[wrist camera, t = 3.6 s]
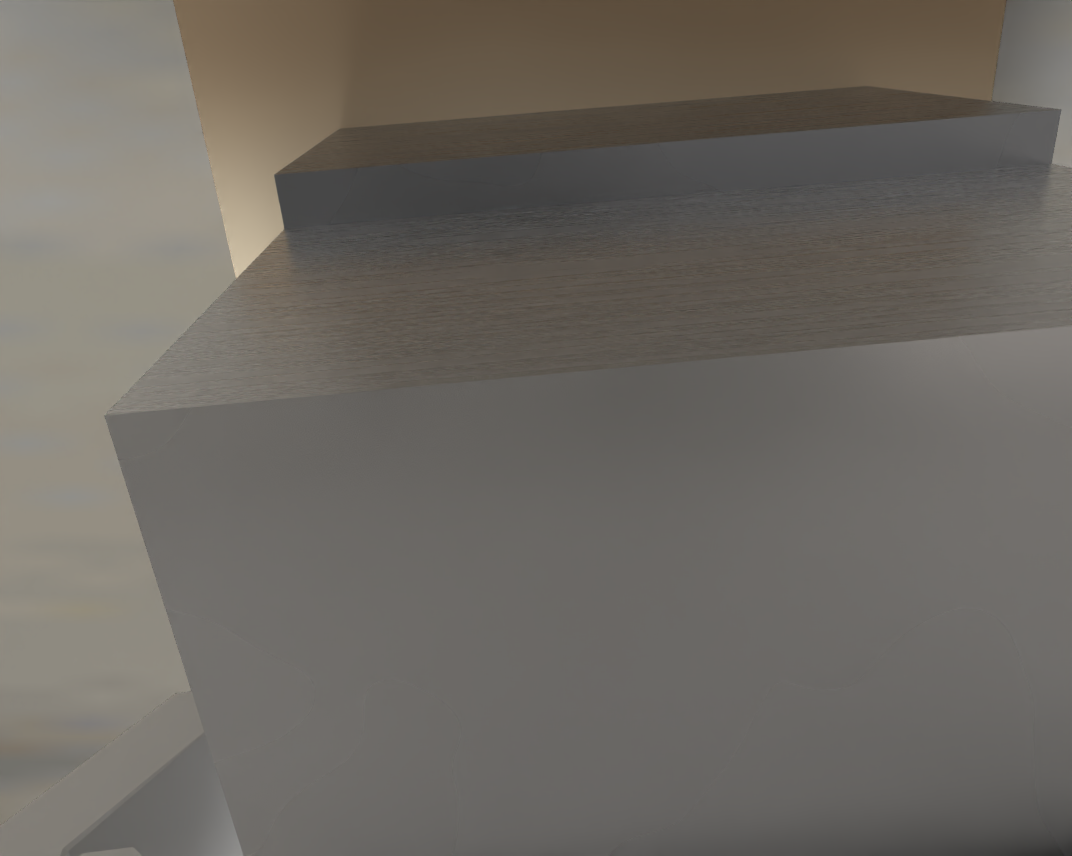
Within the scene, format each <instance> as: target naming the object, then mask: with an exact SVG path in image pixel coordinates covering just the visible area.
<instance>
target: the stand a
mask: <svg viewBox="0 0 1072 856" xmlns="http://www.w3.org/2000/svg"><path fill="white" fill-rule="evenodd" d="M173 2H174V6H175V10H176V15H177V19H178V24H179V28H180V32H181V37H182V41H183V46H184V50H185V55H186V59H187V63H188V68H189V72H190V77H191V81H192V86H193V90H194V94H195V99H196V103H197V108H198V112H199V116H200V121H201V125H202V130H203V134H204V139H205V143H206V147H207V152H208V156H209V161H210V165H211V170H212V174H213V178H214V183H215V187H216V192H217V196H218V201H219V205H220V209H221V214H222V218H223V223H224V227H225V231H226V236H227V240H228V245H229V249H230V254H231V258H232V262H233V267H234V271H235V276H236V279H237V277H238V276H239V275H240V274H241V273H242V272H243V271H244V270H245V269H246V268H247V267H248V266H249V265H250V264H251V263H252V262H253V261H254V260H255V259H256V258H257V257H258V256H259V255H260V254H261V253H262V252H263V251H264V250H265V248H266V247H267V246H268V245H269V244H270V243H271V242H272V241H273V240H274V239H275V238H276V237H277V236H278V235H279V234H280V233H281V232H282V231H283V230H284V224H283V219H282V214H281V209H280V204H279V199H278V194H277V188H276V183H275V178H274V174H276V173H277V172H278V171H280V170H281V169H283V168H284V167H286V166H287V165H288V164H290V163H291V162H293V161H294V160H296V159H297V158H298V157H300V156H301V155H303V154H304V153H306V152H307V151H308V150H310V149H311V148H313V147H314V146H315V145H317V144H318V143H320V142H321V141H323V140H324V139H325V138H327V137H328V136H330V135H331V134H333V133H334V132H335V131H337V130H338V129H341V128H353V127H366V126H378V125H390V124H403V123H415V122H427V121H439V120H452V119H464V118H476V117H489V116H501V115H513V114H526V113H538V112H550V111H563V110H575V109H587V108H600V107H612V106H624V105H637V104H649V103H661V102H674V101H686V100H698V99H711V98H723V97H735V96H748V95H760V94H772V93H784V92H797V91H809V90H821V89H834V88H846V87H858V86H872V87H880V88H888V89H897V90H905V91H913V92H921V93H929V94H938V95H946V96H954V97H962V98H971V99H979V100H987V101H991V100H992V93H993V87H994V80H995V73H996V67H997V60H998V53H999V46H1000V40H1001V33H1002V26H1003V19H1004V13H1005V6H1006V0H173Z"/></svg>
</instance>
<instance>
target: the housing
mask: <svg viewBox="0 0 1072 856" xmlns="http://www.w3.org/2000/svg"><path fill="white" fill-rule="evenodd" d="M1060 114H1061V109H1053V108H1045V107H1037V106H1028V105H1020V104H1012V103H1004V102H995V101H987V100H979V99H971V98H962V97H954V96H946V95H938V94H929V93H921V92H913V91H905V90H897V89H888V88H880V87H872V86H858V87H846V88H834V89H821V90H809V91H797V92H784V93H772V94H760V95H748V96H735V97H723V98H711V99H698V100H686V101H674V102H661V103H649V104H637V105H624V106H612V107H600V108H587V109H575V110H563V111H550V112H538V113H526V114H513V115H501V116H489V117H476V118H464V119H452V120H439V121H427V122H415V123H403V124H390V125H378V126H366V127H353V128H341V129H338V130H337V131H335V132H334V133H333V134H331V135H330V136H328V137H327V138H325V139H324V140H323V141H321V142H320V143H318V144H317V145H315V146H314V147H313V148H311V149H310V150H308V151H307V152H306V153H304V154H303V155H301V156H300V157H298V158H297V159H296V160H294V161H293V162H291V163H290V164H288V165H287V166H286V167H284V168H283V169H281V170H280V171H278V172H277V173H276V174H274V178H275V183H276V188H277V194H278V199H279V204H280V209H281V214H282V219H283V224H284V230H283V231H282V232H281V233H280V234H279V235H278V236H277V237H276V238H275V239H274V240H273V241H272V242H271V243H270V244H269V245H268V246H267V247H266V248H265V250H264V251H263V252H262V253H261V254H260V255H259V256H258V257H257V258H256V259H255V260H254V261H253V262H252V263H251V264H250V265H249V266H248V267H247V268H246V269H245V270H244V271H243V272H242V273H241V274H240V275H239V276H238V277H237V279H236V280H235V281H234V282H233V283H232V284H231V285H230V286H229V287H228V288H227V289H226V290H225V291H224V292H223V293H222V294H221V295H220V296H219V297H218V298H217V299H216V300H215V301H214V302H213V303H212V304H211V305H210V307H209V308H208V309H207V310H206V311H205V312H204V313H203V314H202V315H201V316H200V317H199V318H198V319H197V320H196V321H195V322H194V323H193V324H192V325H191V326H190V327H189V328H188V329H187V330H186V331H185V332H184V333H183V334H182V336H181V337H180V338H179V339H178V340H177V341H176V342H175V343H174V344H173V345H172V346H171V347H170V348H169V349H168V350H167V351H166V352H165V353H164V354H163V355H162V356H161V357H160V358H159V359H158V360H157V361H156V362H155V363H154V365H153V366H152V367H151V368H150V369H149V370H148V371H147V372H146V373H145V374H144V375H143V376H142V377H141V378H140V379H139V380H138V381H137V382H136V383H135V384H134V385H133V386H132V387H131V388H130V389H129V390H128V391H127V392H126V394H125V395H124V396H123V397H122V398H121V399H120V400H119V401H118V402H117V403H116V404H115V405H114V406H113V407H112V408H111V409H110V410H109V411H108V412H107V413H106V414H105V415H104V416H105V419H106V422H107V425H108V428H109V432H110V435H111V438H112V441H113V444H114V447H115V451H116V454H117V457H118V460H119V463H120V466H121V470H122V473H123V476H124V479H125V482H126V485H127V489H128V492H129V495H130V498H131V501H132V504H133V508H134V511H135V514H136V517H137V520H138V523H139V527H140V530H141V533H142V536H143V539H144V542H145V546H146V549H147V552H148V555H149V558H150V561H151V565H152V568H153V571H154V574H155V577H156V580H157V584H158V587H159V590H160V593H161V596H162V599H163V602H164V606H165V609H166V612H167V615H168V618H169V621H170V625H171V628H172V631H173V634H174V637H175V640H176V644H177V647H178V650H179V653H180V656H181V659H182V663H183V666H184V669H185V672H186V675H187V678H188V682H189V685H190V688H191V691H192V694H193V697H194V701H195V704H196V707H197V710H198V713H199V716H200V720H201V723H202V726H203V729H204V732H205V735H206V739H207V742H208V745H209V748H210V751H211V754H212V758H213V761H214V764H215V767H216V770H217V773H218V777H219V780H220V783H221V786H222V789H223V792H224V796H225V799H226V802H227V805H228V808H229V811H230V815H231V818H232V821H233V824H234V827H235V830H236V833H237V837H238V840H239V843H240V846H241V849H242V852H243V856H1072V168H1070V167H1065V166H1060V165H1056V164H1051V163H1052V158H1053V152H1054V147H1055V141H1056V136H1057V130H1058V125H1059V119H1060Z"/></svg>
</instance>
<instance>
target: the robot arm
mask: <svg viewBox="0 0 1072 856" xmlns="http://www.w3.org/2000/svg"><path fill="white" fill-rule="evenodd" d="M0 856H243V852H242V849H241V846H240V843H239V840H238V837H237V833H236V830H235V827H234V824H233V821H232V818H231V815H230V811H229V808H228V805H227V802H226V799H225V796H224V792H223V789H222V786H221V783H220V780H219V777H218V773H217V770H216V767H215V764H214V761H213V758H212V754H211V751H210V748H209V745H208V742H207V739H206V735H205V732H204V729H203V726H202V723H201V720H200V716H199V713H198V710H197V707H196V704H195V701H194V697H193V694H192V691H190V692H181V693H175V694H174V695H173V696H171V697H170V698H169V699H167V700H166V701H165V702H164V703H162V704H161V705H160V706H158V707H157V708H156V709H154V710H153V711H152V712H150V713H149V714H148V715H146V716H145V717H144V718H142V719H141V720H140V721H138V722H137V723H136V724H134V725H133V726H132V727H130V728H129V729H128V730H126V731H125V732H124V733H122V734H121V735H120V736H118V737H117V738H116V739H114V740H113V741H112V742H110V743H109V744H108V745H106V746H105V747H104V748H102V749H101V750H100V751H98V752H97V753H96V754H95V755H93V756H92V757H91V758H89V759H88V760H87V761H85V762H84V763H83V764H81V765H80V766H79V767H77V768H76V769H75V770H73V771H72V772H71V773H69V774H68V775H67V776H65V777H64V778H63V779H61V780H60V781H59V782H57V783H56V784H55V785H53V786H52V787H51V788H49V789H48V790H47V791H45V792H44V793H43V794H41V795H40V796H39V797H37V798H36V799H35V800H33V801H32V802H31V803H29V804H28V805H27V806H25V807H24V808H23V809H22V810H20V811H19V812H18V813H16V814H15V815H14V816H12V817H11V818H10V819H8V820H7V821H6V822H4V823H3V824H2V825H0Z"/></svg>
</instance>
